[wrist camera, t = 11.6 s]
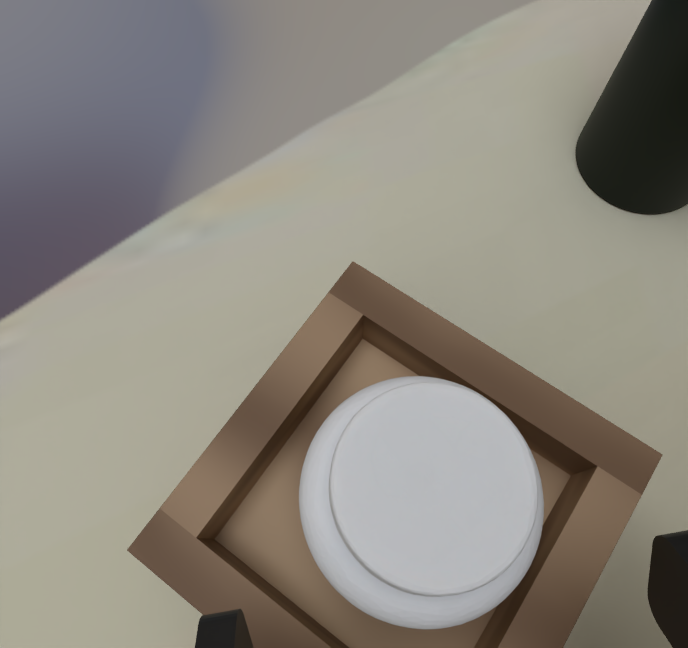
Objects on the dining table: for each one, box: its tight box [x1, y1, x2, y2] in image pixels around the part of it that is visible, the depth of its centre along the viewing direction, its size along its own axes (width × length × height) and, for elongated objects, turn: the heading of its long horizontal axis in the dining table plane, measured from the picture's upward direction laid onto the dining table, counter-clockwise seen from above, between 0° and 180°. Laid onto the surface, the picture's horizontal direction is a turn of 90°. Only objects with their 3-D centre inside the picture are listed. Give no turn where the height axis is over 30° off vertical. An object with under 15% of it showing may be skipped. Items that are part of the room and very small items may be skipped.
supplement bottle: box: [299, 376, 544, 629], centre depth 16 cm, size 6×6×10 cm
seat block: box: [127, 262, 662, 648], centre depth 20 cm, size 12×12×4 cm
